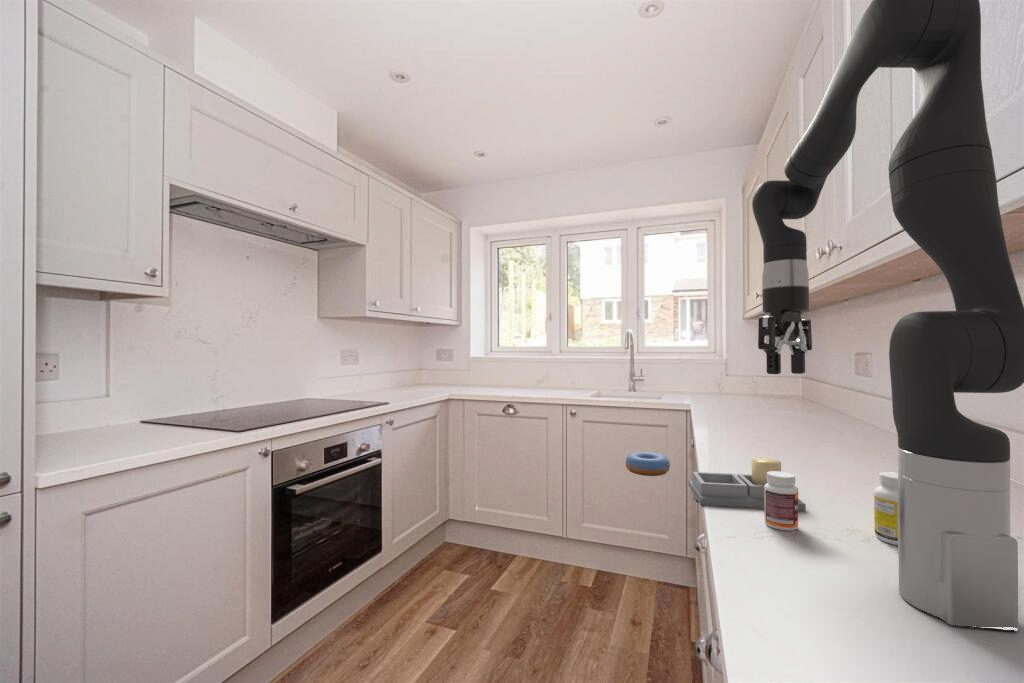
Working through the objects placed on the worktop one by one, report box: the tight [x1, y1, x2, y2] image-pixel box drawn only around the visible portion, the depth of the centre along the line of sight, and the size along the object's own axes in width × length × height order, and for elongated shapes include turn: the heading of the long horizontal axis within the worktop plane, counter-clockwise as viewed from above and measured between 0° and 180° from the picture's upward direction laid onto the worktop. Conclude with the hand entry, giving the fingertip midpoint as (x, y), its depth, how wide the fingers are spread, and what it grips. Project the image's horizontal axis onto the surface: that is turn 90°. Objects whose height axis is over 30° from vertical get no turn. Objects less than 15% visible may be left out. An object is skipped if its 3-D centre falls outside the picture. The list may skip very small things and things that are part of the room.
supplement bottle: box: [873, 471, 898, 546], centre depth 71 cm, size 5×5×10 cm
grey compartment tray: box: [688, 457, 807, 512], centre depth 90 cm, size 12×18×7 cm
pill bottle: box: [763, 471, 799, 532], centre depth 76 cm, size 5×5×8 cm
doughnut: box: [625, 451, 671, 477], centre depth 109 cm, size 10×10×5 cm
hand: (786, 373), depth 87 cm, fingers open, 8 cm apart
